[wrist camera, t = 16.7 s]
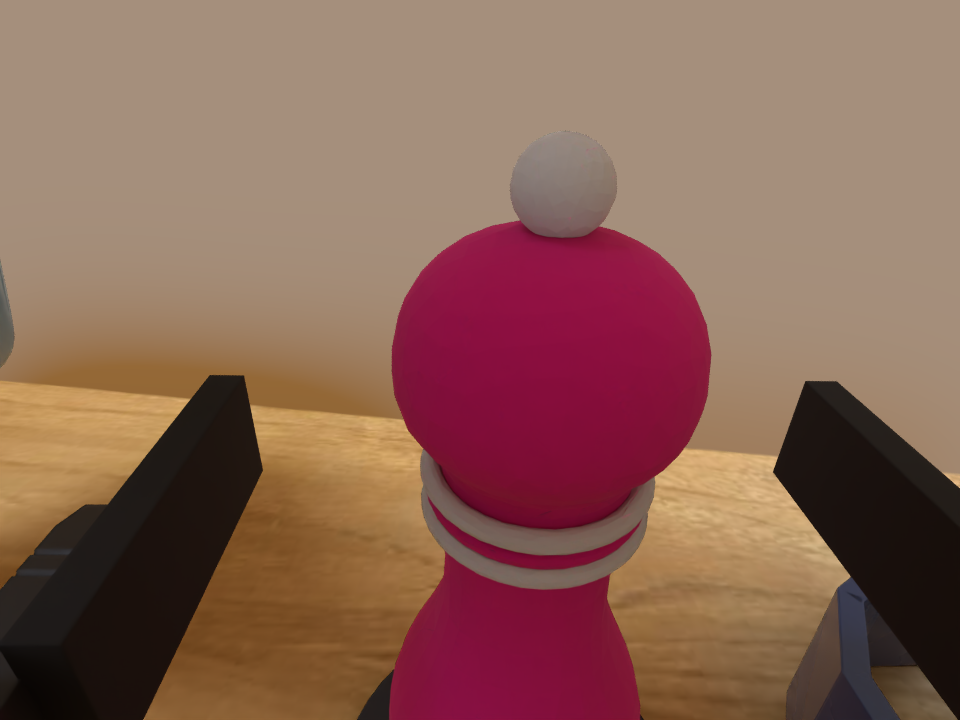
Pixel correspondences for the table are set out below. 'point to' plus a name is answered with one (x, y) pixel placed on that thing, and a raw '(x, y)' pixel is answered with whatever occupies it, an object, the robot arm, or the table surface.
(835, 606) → the pot
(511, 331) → the pepper mill
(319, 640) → the table surface
